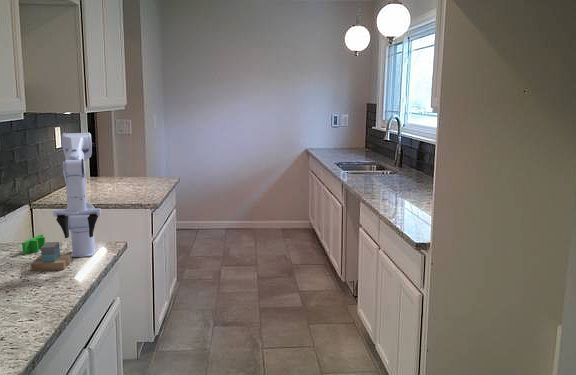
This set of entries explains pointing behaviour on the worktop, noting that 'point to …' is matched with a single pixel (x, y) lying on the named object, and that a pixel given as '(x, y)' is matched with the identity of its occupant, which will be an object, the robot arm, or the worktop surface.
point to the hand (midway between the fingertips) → (79, 237)
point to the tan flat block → (51, 263)
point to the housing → (50, 252)
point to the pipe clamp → (33, 244)
